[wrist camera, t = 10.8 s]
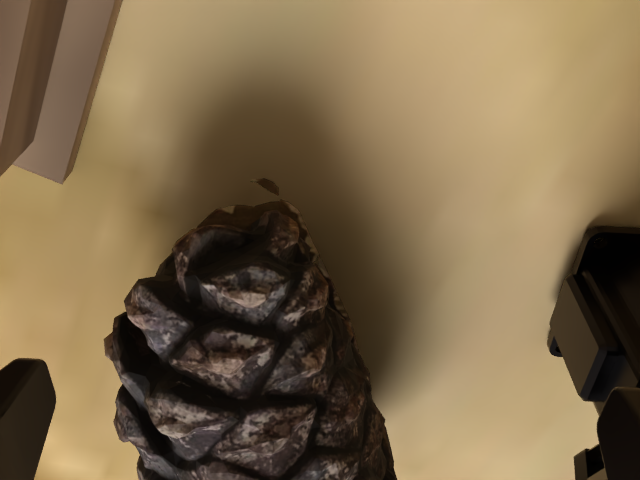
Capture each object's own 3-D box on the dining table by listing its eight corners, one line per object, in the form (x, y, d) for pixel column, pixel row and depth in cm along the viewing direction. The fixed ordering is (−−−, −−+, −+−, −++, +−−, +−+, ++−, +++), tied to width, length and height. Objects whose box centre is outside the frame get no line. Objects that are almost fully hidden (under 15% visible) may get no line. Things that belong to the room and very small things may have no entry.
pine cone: (314, 137, 22) (297, 337, 13) (412, 445, 31) (437, 670, 23) (53, 203, 24) (-101, 413, 15) (222, 474, 33) (183, 692, 25)
